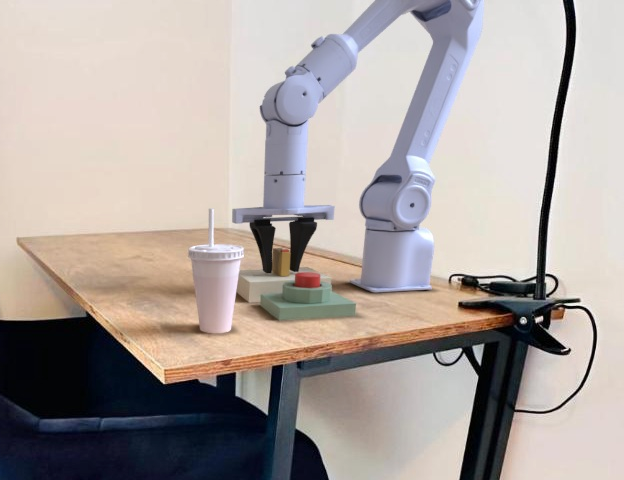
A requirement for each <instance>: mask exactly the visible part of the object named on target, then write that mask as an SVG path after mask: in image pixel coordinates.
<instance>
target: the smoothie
mask: <svg viewBox="0 0 624 480" xmlns="http://www.w3.org/2000/svg"><path fill="white" fill-rule="evenodd" d="M214 210H215V208H208V244H199V245H193V246H190V247H189V248H188V255H187V257H188V258H189V259H190V261H191V270H192V278H193V287H194V294H195V303H196V310H197V317H198V324H199V330H200V331H201V332H203V333H209V334H222V333H223V334H224V333H227V332H230V331H231V330H232V324H233V317H234V310H235V303H236V296H237V292H236V290H237V283H238V276H239V271H240V270H241V269H240V268H241V261H242V259H243V258H244V257H245V255H244V247H243V246H242V245H238V244H237V245H236V244H228V243H226V244H225V243H215V242H214V240H215V239H214V238H215V237H214V233H215V231H214V229H215V227H214V226H215V224H214V222H215V219H214V217H215V214H214V212H215V211H214ZM214 243H215V244H214Z"/></svg>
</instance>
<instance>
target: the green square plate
mask: <svg viewBox="0 0 624 480" xmlns="http://www.w3.org/2000/svg"><path fill="white" fill-rule="evenodd" d="M259 303H260V304H259V306H260V307H261V308H262V309H264V310H265V311H266V312H267V313H269V314H270V315H271V316H272V317H274V318H275V319H276V320H277V321H291V320H293V321H294V320H310V319H324V318H327V319H328V318H340V317H342V318H343V317H354V316H356V311H357V310H356V309H357V302H355V301H353V300H350V299H349V298H347V297H344V296H343V295H341V294H339V293H337V292H335V291H333V284H332V283H331V284H329V283H327V282H321V281H320V287H317V288H300V287H295V281H290V282H285V283H284V284H283V287H282V293H269V294H261V298H260V302H259Z"/></svg>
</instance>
